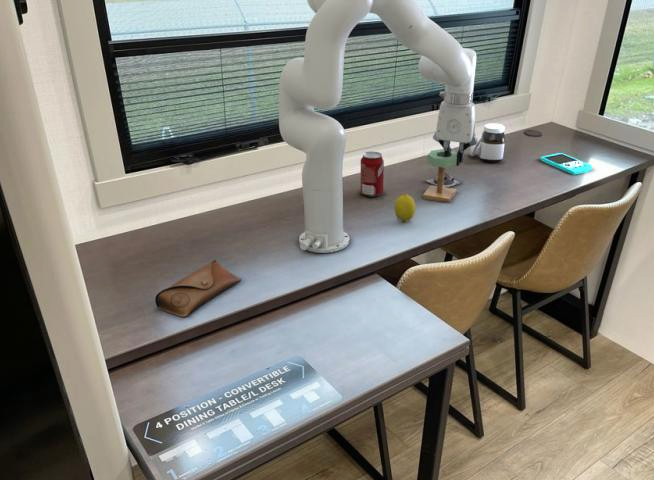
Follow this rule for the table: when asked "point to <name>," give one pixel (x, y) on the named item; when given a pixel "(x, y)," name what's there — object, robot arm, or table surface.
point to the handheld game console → (567, 163)
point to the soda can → (372, 174)
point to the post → (439, 189)
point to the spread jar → (490, 143)
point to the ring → (442, 159)
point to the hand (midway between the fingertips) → (453, 163)
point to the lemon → (405, 207)
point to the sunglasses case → (195, 290)
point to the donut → (447, 181)
